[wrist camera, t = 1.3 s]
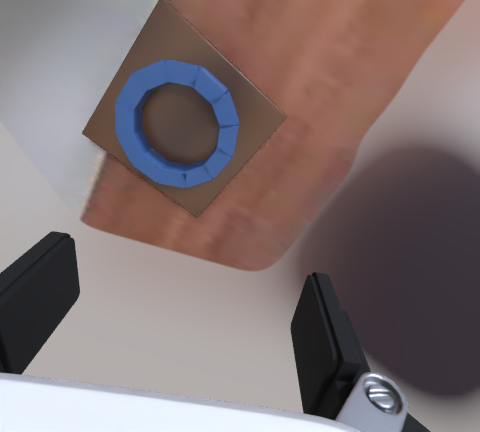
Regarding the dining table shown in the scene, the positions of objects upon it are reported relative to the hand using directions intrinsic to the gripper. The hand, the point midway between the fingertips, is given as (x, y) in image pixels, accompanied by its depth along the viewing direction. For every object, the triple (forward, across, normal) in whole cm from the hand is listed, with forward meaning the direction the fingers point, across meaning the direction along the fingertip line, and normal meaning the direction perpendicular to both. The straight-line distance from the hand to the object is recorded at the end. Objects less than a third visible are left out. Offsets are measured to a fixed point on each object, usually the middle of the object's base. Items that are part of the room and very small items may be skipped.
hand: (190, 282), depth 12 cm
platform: (+22, +4, -2) cm, 23 cm away
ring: (+19, +4, -2) cm, 20 cm away
